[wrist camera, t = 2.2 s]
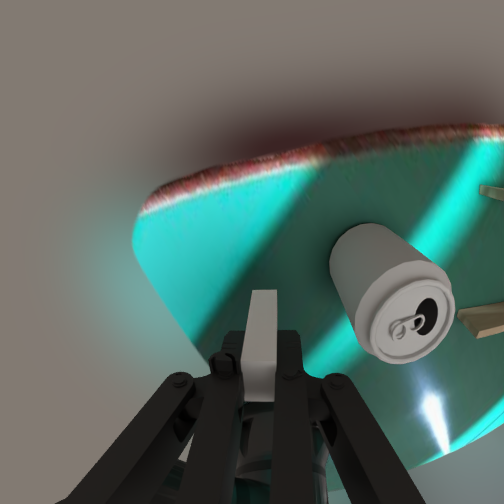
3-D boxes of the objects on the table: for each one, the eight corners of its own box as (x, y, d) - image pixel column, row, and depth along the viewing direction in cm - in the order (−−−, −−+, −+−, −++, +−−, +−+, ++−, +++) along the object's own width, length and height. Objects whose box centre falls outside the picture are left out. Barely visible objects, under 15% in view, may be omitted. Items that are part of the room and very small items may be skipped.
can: (401, 281, 26) (458, 351, 15) (335, 302, 28) (364, 386, 16) (393, 212, 24) (466, 255, 13) (319, 232, 25) (353, 293, 14)
